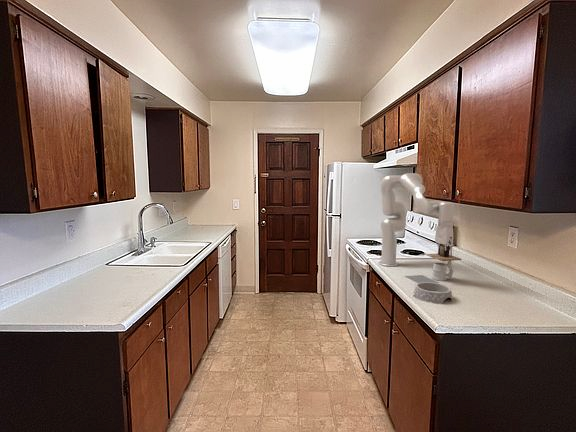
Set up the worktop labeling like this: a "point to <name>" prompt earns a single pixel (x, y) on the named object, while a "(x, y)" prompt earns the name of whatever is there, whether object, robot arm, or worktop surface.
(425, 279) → the grey flat slab
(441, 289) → the dog bowl
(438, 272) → the mug
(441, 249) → the walnut lid
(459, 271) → the worktop surface
